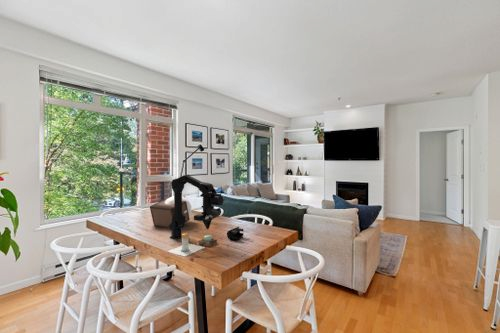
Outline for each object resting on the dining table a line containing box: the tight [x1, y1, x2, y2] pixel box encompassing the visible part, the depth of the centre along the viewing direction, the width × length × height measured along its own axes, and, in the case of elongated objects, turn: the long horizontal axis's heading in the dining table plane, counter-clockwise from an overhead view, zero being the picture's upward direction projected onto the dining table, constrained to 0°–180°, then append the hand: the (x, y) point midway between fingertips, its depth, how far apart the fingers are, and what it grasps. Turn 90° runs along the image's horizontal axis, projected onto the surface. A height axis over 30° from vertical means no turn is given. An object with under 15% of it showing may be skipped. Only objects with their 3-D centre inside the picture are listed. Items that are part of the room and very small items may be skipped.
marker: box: [181, 232, 190, 252], centre depth 135 cm, size 4×4×9 cm
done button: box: [203, 234, 213, 242], centre depth 147 cm, size 5×5×3 cm
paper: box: [166, 242, 206, 258], centre depth 137 cm, size 14×16×1 cm
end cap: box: [226, 226, 244, 242], centre depth 157 cm, size 10×7×7 cm
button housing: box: [198, 237, 218, 248], centre depth 147 cm, size 8×8×2 cm
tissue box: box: [149, 195, 192, 229], centre depth 195 cm, size 24×28×24 cm
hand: (207, 229), depth 147 cm, fingers closed
